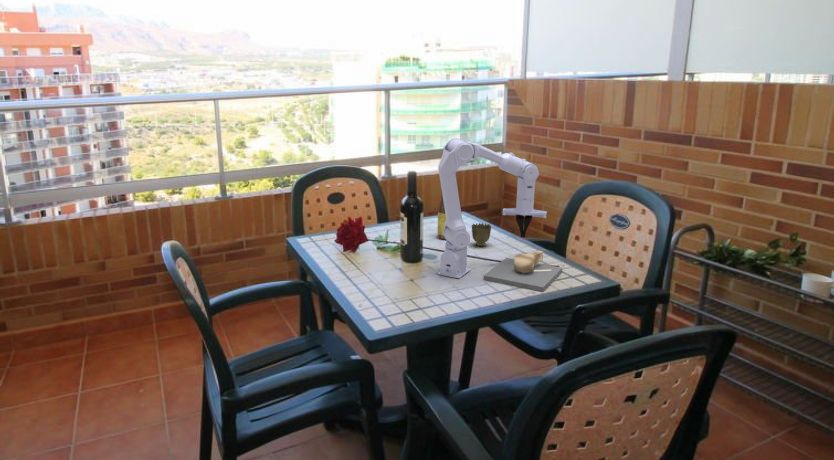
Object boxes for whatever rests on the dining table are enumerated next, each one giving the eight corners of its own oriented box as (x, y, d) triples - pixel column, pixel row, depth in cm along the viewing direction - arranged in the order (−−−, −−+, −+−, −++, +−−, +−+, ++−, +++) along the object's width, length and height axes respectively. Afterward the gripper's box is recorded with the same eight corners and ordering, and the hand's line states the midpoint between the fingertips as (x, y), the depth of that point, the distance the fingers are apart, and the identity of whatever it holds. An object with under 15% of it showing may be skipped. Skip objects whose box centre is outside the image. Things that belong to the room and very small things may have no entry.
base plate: (543, 291, 189) (543, 285, 189) (483, 279, 199) (483, 273, 198) (562, 271, 206) (562, 266, 206) (506, 261, 216) (506, 256, 215)
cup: (491, 248, 229) (492, 228, 227) (471, 248, 229) (472, 228, 227) (489, 242, 236) (490, 222, 234) (470, 242, 236) (471, 222, 234)
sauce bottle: (452, 240, 238) (453, 190, 232) (436, 239, 239) (436, 190, 234) (454, 235, 244) (455, 187, 238) (438, 234, 245) (439, 186, 240)
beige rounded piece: (526, 273, 197) (526, 261, 196) (510, 268, 202) (510, 257, 201) (548, 264, 206) (549, 252, 205) (532, 259, 210) (533, 248, 209)
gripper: (502, 199, 203) (500, 238, 207) (547, 201, 200) (544, 241, 204) (504, 194, 210) (502, 232, 214) (547, 197, 207) (545, 235, 210)
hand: (523, 236), depth 209 cm, fingers closed
